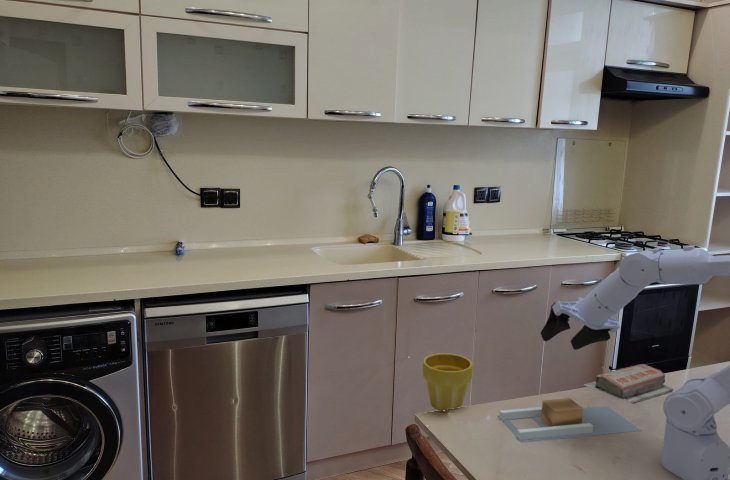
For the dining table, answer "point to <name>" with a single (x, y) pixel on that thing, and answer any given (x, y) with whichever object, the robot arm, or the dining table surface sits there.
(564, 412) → the block
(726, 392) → the robot arm
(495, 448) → the dining table surface
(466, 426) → the dining table surface
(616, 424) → the channel
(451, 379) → the plant pot
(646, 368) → the packaged product
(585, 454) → the dining table surface
